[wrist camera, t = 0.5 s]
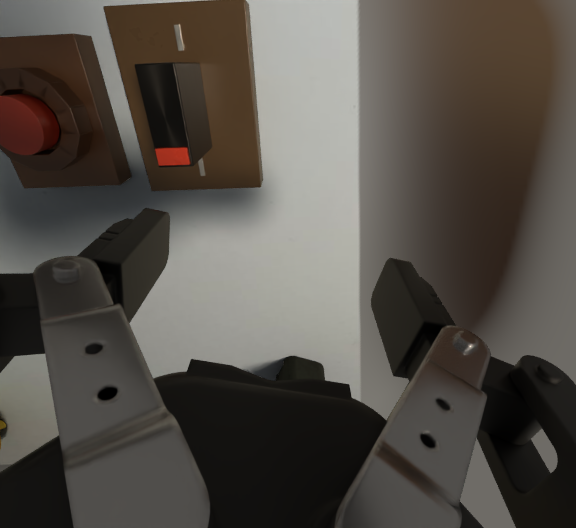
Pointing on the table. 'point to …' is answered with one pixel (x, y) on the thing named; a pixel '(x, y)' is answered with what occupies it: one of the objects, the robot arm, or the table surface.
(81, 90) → the block
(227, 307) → the table surface
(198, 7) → the plate
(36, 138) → the button
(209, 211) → the table surface
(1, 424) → the teapot
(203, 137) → the thumbturn
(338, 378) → the table surface
